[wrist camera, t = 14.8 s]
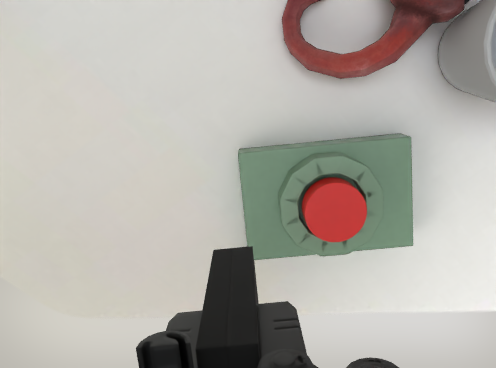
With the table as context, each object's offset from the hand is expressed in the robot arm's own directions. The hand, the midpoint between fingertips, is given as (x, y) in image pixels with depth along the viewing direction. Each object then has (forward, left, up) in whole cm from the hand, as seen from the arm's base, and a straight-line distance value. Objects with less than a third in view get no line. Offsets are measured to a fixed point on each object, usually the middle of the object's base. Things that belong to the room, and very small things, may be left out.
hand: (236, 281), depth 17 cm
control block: (+6, -1, -17) cm, 18 cm away
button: (+6, -1, -13) cm, 15 cm away
